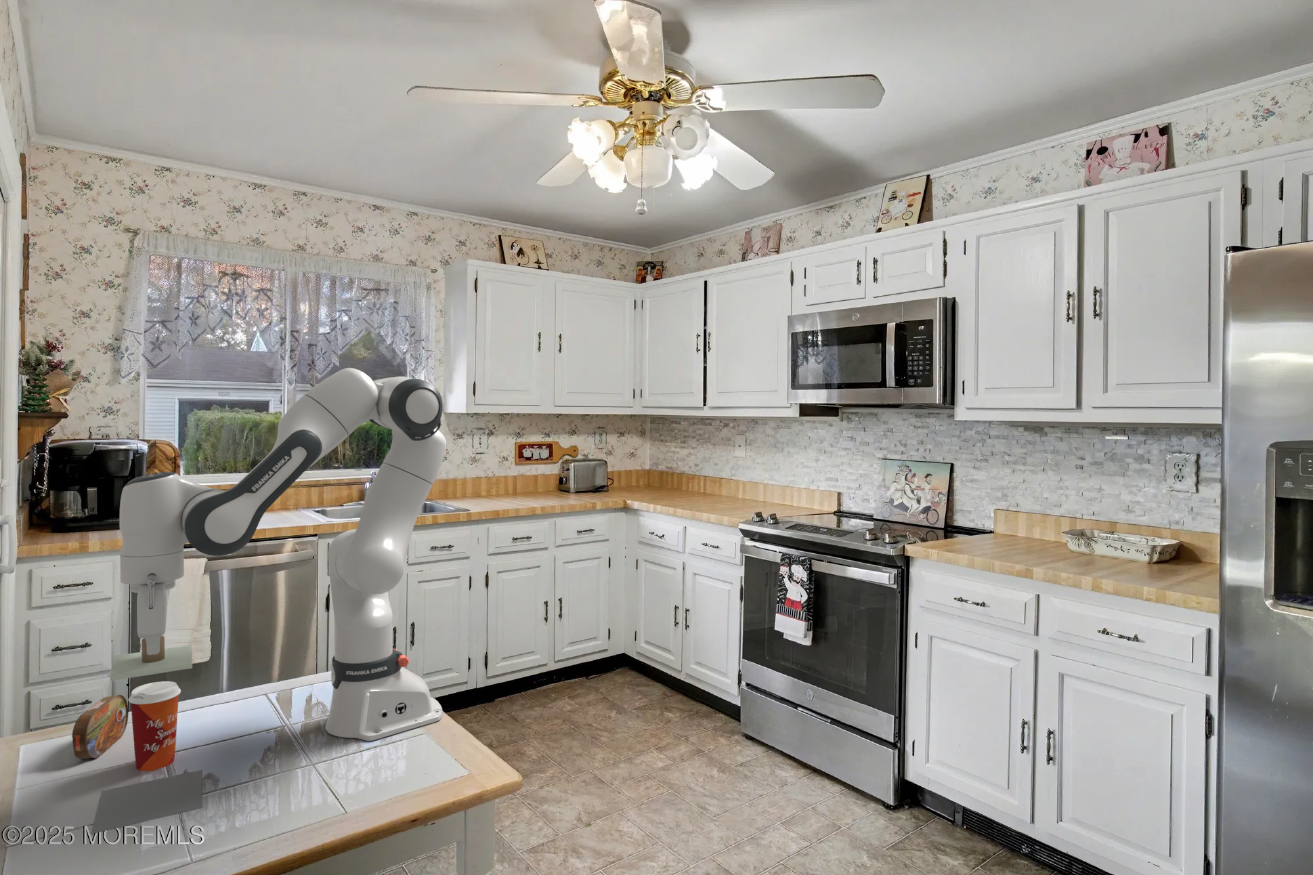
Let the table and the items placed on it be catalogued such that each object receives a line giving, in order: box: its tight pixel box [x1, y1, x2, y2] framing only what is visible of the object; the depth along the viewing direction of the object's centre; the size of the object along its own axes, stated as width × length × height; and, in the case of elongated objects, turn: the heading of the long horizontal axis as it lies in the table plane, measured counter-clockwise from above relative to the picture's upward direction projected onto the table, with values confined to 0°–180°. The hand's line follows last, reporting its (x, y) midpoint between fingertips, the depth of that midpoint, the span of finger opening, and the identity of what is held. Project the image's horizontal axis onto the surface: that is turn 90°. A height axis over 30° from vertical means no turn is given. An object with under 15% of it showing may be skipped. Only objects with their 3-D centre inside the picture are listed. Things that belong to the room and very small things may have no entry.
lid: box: [109, 635, 193, 682], centre depth 122 cm, size 11×11×4 cm
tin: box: [71, 694, 129, 760], centre depth 135 cm, size 15×3×8 cm, turn 13°
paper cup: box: [127, 680, 182, 772], centre depth 129 cm, size 8×8×14 cm
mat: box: [90, 769, 203, 835], centre depth 117 cm, size 14×14×1 cm
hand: (153, 649), depth 122 cm, fingers closed on lid, 3 cm apart
